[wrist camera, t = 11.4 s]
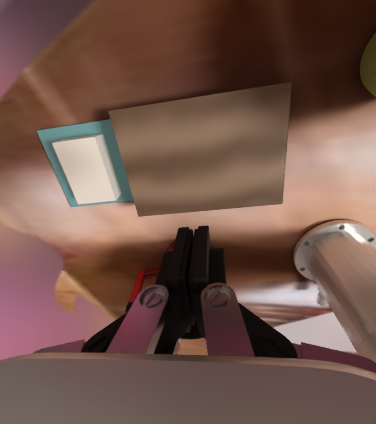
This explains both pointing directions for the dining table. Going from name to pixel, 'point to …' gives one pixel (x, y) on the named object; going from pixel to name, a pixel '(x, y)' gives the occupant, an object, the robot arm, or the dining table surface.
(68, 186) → the mat
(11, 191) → the dining table surface
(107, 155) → the cream rectangular block
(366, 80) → the flower pot
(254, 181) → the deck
